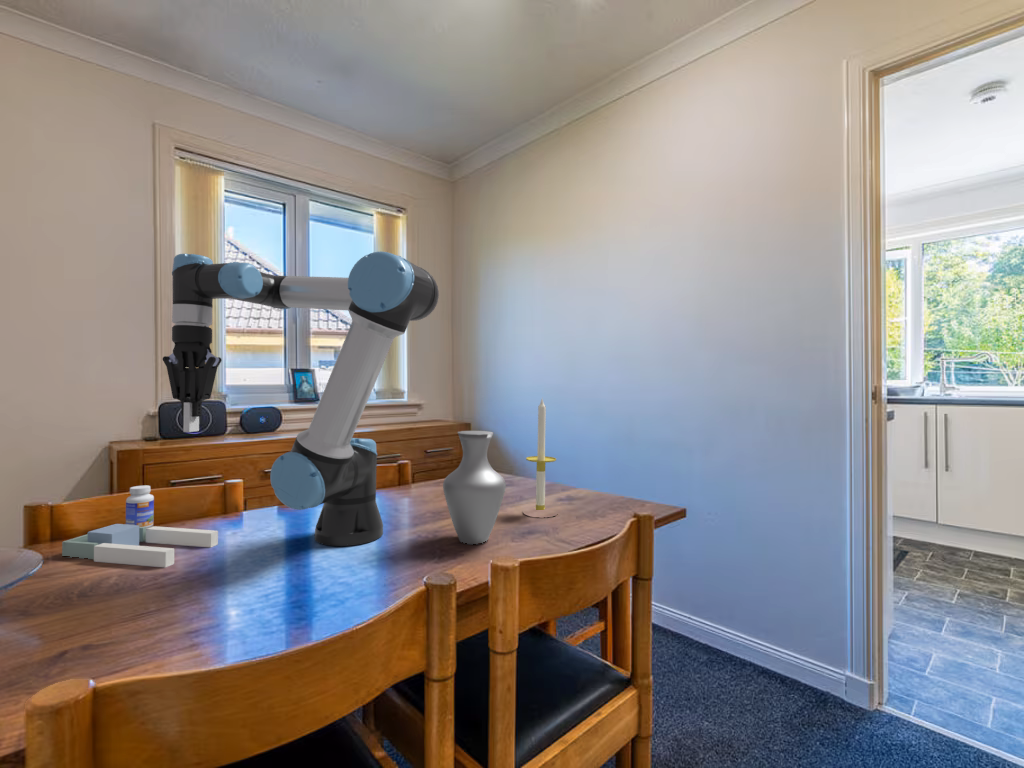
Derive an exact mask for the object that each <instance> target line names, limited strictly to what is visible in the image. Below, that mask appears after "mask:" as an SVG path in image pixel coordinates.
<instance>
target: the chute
mask: <svg viewBox="0 0 1024 768" xmlns="http://www.w3.org/2000/svg"><path fill="white" fill-rule="evenodd" d="M145 543H147V544H148V543H149V544H159V545H175V546H186V547H187V546H189V547H202V548H213V547H215V546H218V545H219V531H218V530H213V529H199V528H198V529H197V528H185V527H184V528H183V527H169V526H168V527H167V526H159V525H158V526H156V525H155V526H154V525H153V526H151V527H149V528H146V541H145ZM93 562H95V563H96V562H97V563H106V564H118V565H131V566H142V567H155V568H165V569H166V568H168V567H170V566H172V565H175V548H174V547H173V548H172V547H162V546H161V547H159V546H150V545H149V546H147V545H139V546H136V545H124V544H111V543H102V544H99V545H96V546H94V559H93Z"/></svg>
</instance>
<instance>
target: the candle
mask: <svg viewBox="0 0 1024 768" xmlns="http://www.w3.org/2000/svg"><path fill="white" fill-rule="evenodd" d="M537 410H538V411H537V413H538V414H537V455H534V456H527V457H525V459H526V461H528V462H532V463H536V473H535V476H536V478H535V480H536V481H535V483H536V484H535V486H536V488H535V508H536V510H544V509H545V508H546V505H545V504H546V463H554V462H557V458H556V457H553V456H546V422H547V421H546V420H547V418H546V417H547V416H546V414H547V413H546V412H547V409H546V405H545V402H544V399H543V398H541V400H540V403H539V404H538V409H537Z"/></svg>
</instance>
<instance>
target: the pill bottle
mask: <svg viewBox="0 0 1024 768" xmlns="http://www.w3.org/2000/svg"><path fill="white" fill-rule="evenodd" d="M151 491H152V490H151V485H146V484H145V485H136V486H131V487H129V494H130V495H129V496H128V497H127V498H126V500H125V524H126V525H138V526H139V527H146V529H147V528H150V527H153V526H154V520H155V519H154V517H155V513H154V510H155V508H154V507H155V505H154V504H155V496H154V495H153V494H151Z"/></svg>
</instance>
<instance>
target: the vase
mask: <svg viewBox="0 0 1024 768" xmlns="http://www.w3.org/2000/svg"><path fill="white" fill-rule="evenodd" d="M457 435H458V437H459V441H460V444H461V447H462V457H461V461H460V463H459V465H458V467H457V468H456V469H455V470H453V471H452V472H450V473H449V474H448V475H447V476H446V477H445V479H444V480H443V484H442V489H443V494H444V497H445V502H446V505H447V509H448V513H449V516H450V518H451V519H450V520H451V523H452V525H453V528H454V530H455V532H456V535H457V537H458V540H459V542H460V543H462V542H463V543H462V544H465V543H467V544H466V545H473V544H476V545H479V544H478V543H482V544H484V543H483V542H485V541H486V542H488V541H489V538H490V535H491V533H492V531H493V529H494V527H495V524H496V521H497V519H498V514H499V513H500V509H501V505H502V502H503V500H504V496H505V492H506V486H507V485H506V481H505V478H504V477H503V475H501V474H500V473H498V472H497V471H496V470H494V469H493V467H492V466H491V464H490V462H489V460H488V459H489V458H488V449H489V445H490V442H491V440H492V437H493V435H494V432H492V431H487V430H461V431H457ZM487 540H488V541H487ZM486 542H485V543H486Z"/></svg>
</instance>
